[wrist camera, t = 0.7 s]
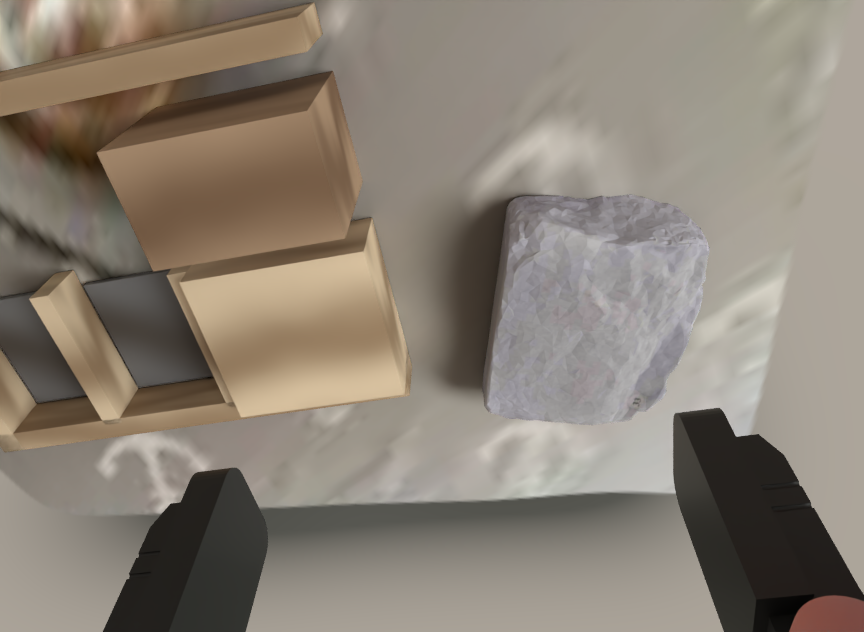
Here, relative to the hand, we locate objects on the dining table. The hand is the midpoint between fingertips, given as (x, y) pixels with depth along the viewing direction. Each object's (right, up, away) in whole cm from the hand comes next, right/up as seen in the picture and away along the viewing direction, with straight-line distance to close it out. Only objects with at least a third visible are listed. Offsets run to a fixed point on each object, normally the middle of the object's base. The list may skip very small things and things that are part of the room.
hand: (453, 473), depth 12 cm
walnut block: (-8, +11, +18) cm, 22 cm away
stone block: (+7, +4, +22) cm, 24 cm away
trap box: (-15, +6, +21) cm, 26 cm away
